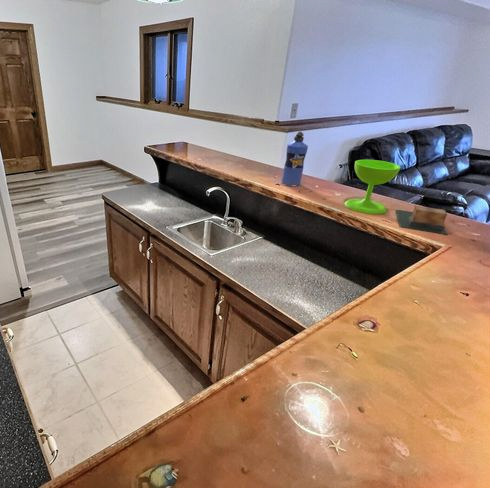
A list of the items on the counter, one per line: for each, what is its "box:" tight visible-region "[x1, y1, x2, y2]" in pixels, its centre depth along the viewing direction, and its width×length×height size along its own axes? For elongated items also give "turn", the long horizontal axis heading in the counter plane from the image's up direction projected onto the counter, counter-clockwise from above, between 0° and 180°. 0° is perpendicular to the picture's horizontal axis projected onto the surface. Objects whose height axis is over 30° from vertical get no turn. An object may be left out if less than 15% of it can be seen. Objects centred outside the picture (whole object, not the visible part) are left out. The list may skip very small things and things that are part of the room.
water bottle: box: [281, 131, 309, 186], centre depth 170 cm, size 9×9×25 cm
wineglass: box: [343, 159, 402, 215], centre depth 142 cm, size 16×16×18 cm
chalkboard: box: [395, 209, 449, 236], centre depth 131 cm, size 14×20×1 cm
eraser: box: [408, 205, 448, 230], centre depth 126 cm, size 10×6×6 cm, turn 64°
